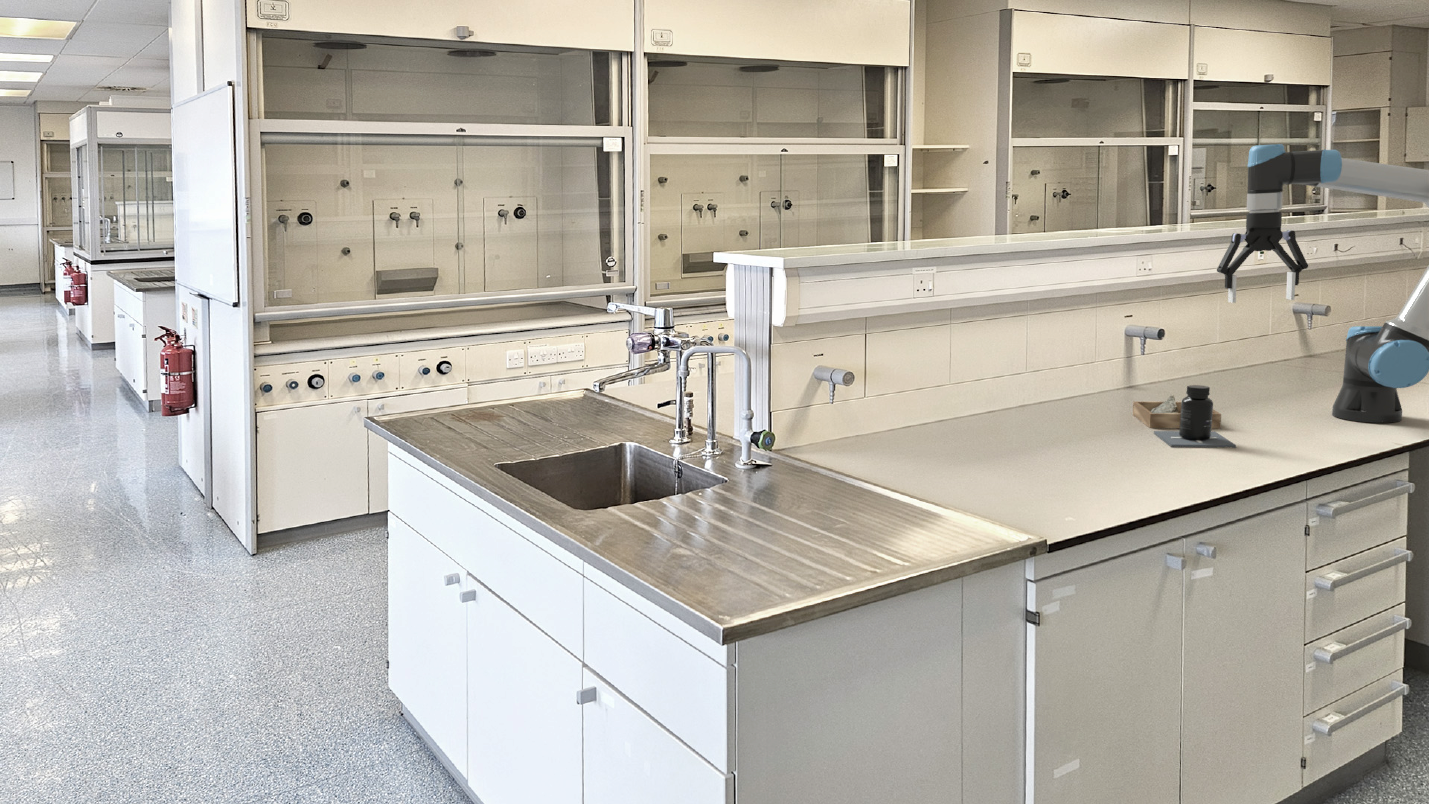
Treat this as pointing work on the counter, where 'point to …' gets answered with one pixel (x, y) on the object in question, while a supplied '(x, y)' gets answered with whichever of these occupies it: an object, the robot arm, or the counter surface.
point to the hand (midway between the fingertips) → (1261, 301)
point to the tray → (1164, 416)
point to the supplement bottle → (1196, 413)
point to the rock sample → (1167, 406)
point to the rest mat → (1176, 441)
